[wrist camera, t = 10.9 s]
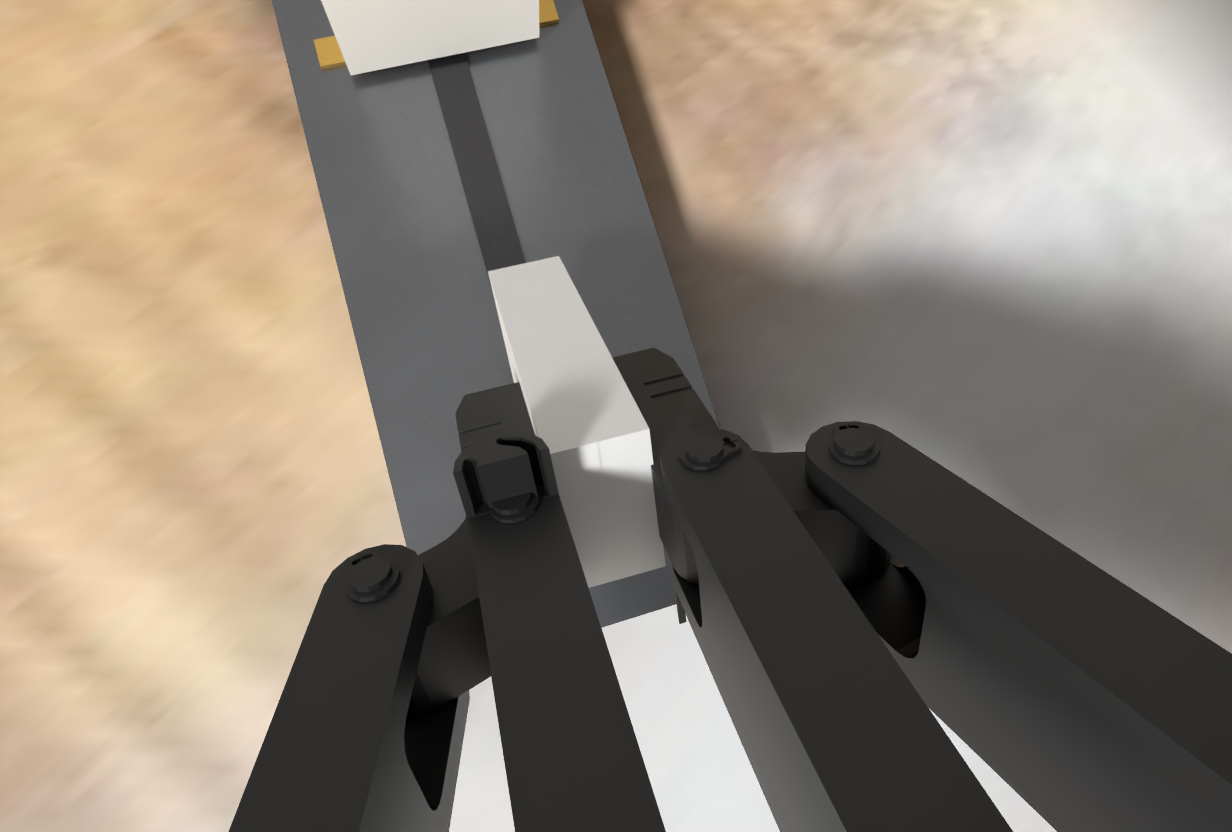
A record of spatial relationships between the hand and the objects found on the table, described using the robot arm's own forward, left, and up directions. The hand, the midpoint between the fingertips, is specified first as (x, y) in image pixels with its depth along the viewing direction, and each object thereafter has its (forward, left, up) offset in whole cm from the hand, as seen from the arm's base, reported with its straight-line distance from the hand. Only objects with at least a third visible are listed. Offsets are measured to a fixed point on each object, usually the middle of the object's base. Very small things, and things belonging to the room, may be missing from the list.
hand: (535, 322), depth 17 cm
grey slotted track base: (+2, -4, -5) cm, 6 cm away
